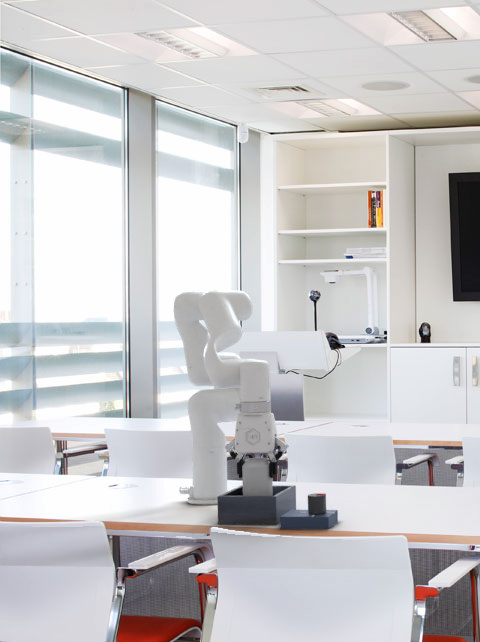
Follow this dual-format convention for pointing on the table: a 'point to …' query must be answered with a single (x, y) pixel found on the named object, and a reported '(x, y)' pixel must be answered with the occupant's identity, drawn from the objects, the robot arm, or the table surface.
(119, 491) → the table surface
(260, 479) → the can
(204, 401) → the robot arm
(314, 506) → the tap knob
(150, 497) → the table surface
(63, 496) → the table surface
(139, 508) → the table surface
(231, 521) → the open storage bin
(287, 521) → the panel
